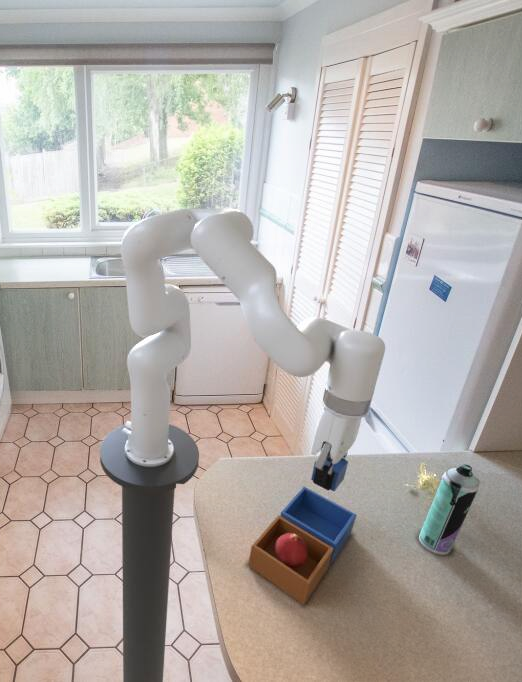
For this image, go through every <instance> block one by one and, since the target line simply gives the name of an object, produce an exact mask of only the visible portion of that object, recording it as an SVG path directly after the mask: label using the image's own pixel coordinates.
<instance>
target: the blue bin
mask: <svg viewBox="0 0 522 682" xmlns="http://www.w3.org/2000/svg"><path fill="white" fill-rule="evenodd" d="M279 516H281V517H282V518H284V519H286V520H287V521H289V522H291V523H292V524H294V525H296V526H297V527H299V528H301V529H302V530H304V531H306V532H307V533H309V534H311V535H312V536H314V537H316V538H317V539H319V540H321V541H322V542H324V543H326V544H327V545H329V546H330V547H332V548H334V549H333V553H332V556H331V560H330V563H329V566H331V565H332V563H333V562H334V560H335V559H336V557H337V556H338V555H339V552H340V551H341V550H342V549H343V547H344V545H345V544H346V542H347V541H348V539H349V538H350V536H351V535H352V531H353V528H354V524H355V521H356V518H357V514H356V513H354V512H353V511H351V510H349V509H347V508H346V507H343V506H341V505H340V504H337V503H335V502H334V501H332V500H330V499H328V498H326V497H324V496H322V495H321V494H319V493H317V492H316V491H313V490H311V488H310V489H309V488H308V487H306V486H303V487H302V488H301V489H300V490H298V492H297V493H296V494H295V495H294V497H293V498H291V500H290V501H289V502H288V504H286V506H285V507H284V508H283V509H282V510H281V511H280V515H279Z"/></svg>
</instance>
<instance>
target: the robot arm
mask: <svg viewBox="0 0 522 682" xmlns="http://www.w3.org/2000/svg"><path fill="white" fill-rule="evenodd" d="M253 237H254V226H253V223H252V220H251V219H250V218H249V216H248V215H247V214H245V213H244V212H243V211H240V210H238V209H234V208H187V207H186V208H180V209H179V208H178V209H174V210H170V211H168V212H167V211H166V212H163V213H158V214H155V215H152V216H148V217H146V218H143V219H141V220H139V221H137V222H136V223H133V225H131V226H130V227H128V229H127V230H126V232H125V233H124V235H123V237H122V239H121V244H120V256H121V260H122V266H123V270H124V276H125V286H126V287H125V288H126V296H127V297H126V299H127V300H126V301H127V308H128V309H127V310H128V318H129V324H130V327H131V329H132V331H133V332H134V334H136V335H137V336H139V337H143V338H144V339H142V341H139V342H138V343H137V344H136V345H134V346H133V347H132V349H130V351H129V353H128V354H127V359H126V367H127V372H128V376H129V382H130V383H129V384H130V421H129V420H127V421H126V422H125V424H124V425H125V427H126V428H127V429H129V430H131V431H129V430H127V429H126V428H124V429H123V430H122V433H124V434H126V435H128V441H127V442H126V444H125V453H126V456H127V457H128V459H129V460H131V461H132V462H133V463H135V464H138V465H141V466H146V467H155V466H160V465H163V464H165V463H167V462H168V461H169V460H170V459H171V458H172V456H173V453H174V447H173V444H172V442H171V441H170V440H169V439H168V435H169V424H170V415H171V412H170V411H171V388H170V385H169V384H168V380H167V377H168V374H170V373H171V372H172V371H173V370H174V369H176V367H178V366H179V365H181V364H182V363H184V362H185V361H186V360H187V359H188V357H189V355H190V353H191V348H192V335H191V333H192V332H191V311H190V305H189V304H190V303H189V300H188V297H187V296H186V294H185V292H184V291H183V290H182V289H181V288H180V287H178V286H176V285H174V284H171V283H167V284H166V275H165V271H164V268H163V266H162V264H161V262H160V261H159V260H161V259H164V258H167V257H170V256H172V255H175V254H179V253H181V252H184V251H186V250H191V249H193V251H194V253H195V254H196V255H197V256H198V257H199V259H201V260H202V262H203V263H204V264H205V265H206V266H207V267H208V268H209V269H210V271H212V272H213V274H214V275H215V276H216V277H217V278H218V279H219V280H220V281H221V282H222V283H223V285H224V286H225V287H226V288H227V289H228V290H229V291H230V292H231V294H232V295H233V296H234V297H235V298H236V299H237V300H238V303H239V305H240V310H241V313H242V316H243V319H244V320H245V323H246V326H247V328H248V330H249V334H251V336H252V338H253V340H254V341H255V342H256V344H257V345H258V347H259V348H260V349H261V350H262V351H263V352H264V353H265V354H266V355H267V357H268V358H269V359H270V360H271V361H272V362H273V363H274V364H275V365H276V366H277V367H278V368H280V370H282V371H283V372H285V373H287V374H288V375H291V376H293V377H297V378H305V377H310V376H312V375H314V374H316V373H318V371H319V370H320V369H321V368H322V367H323V366H324V364H325V363H328V364H329V369H328V373H327V377H326V378H327V379H326V382H325V387H324V391H323V396H322V401H321V403H322V406H323V410H322V412H321V414H320V417H319V419H318V422H317V426H316V428H315V432H314V435H313V439H312V443H311V447H310V454H311V455H313V456H316V455H318V454H319V455H318V457H317V459H316V460H317V462H316V464H315V463H314V464H315V468H316V470H315V474H314V479H313V480H312V482H313V484H314V485H316V486H319V487H320V488H322V489H324V490H327V491H331V490H330V489H331V485H332V481H333V477H334V473H333V470H334V467H335V464H336V463H338V462H339V461H340V460H341V459H344V460H346V461H347V459H346V458H347V456H348V453H349V451H350V449H351V448H352V447H353V446H354V444H355V442H356V440H357V437H358V434H359V431H360V427H361V423H362V418H365V417H366V416H368V414H369V411H370V407H371V404H372V401H373V397H374V394H375V389H376V386H377V382H378V379H379V378H378V377H379V375H380V371H381V367H382V363H383V359H384V356H385V352H386V343H385V342H384V340H383V339H382V338H381V337H380V336H378V335H377V334H375V333H372V332H368V331H366V330H365V331H364V330H357V329H351V328H348V327H345V326H343V325H341V324H338V323H336V322H333V321H331V320H329V319H326V318H322V317H308V318H306V319H304V320H302V321H301V322H300V323H299V324H298V325H295V323H294V322H293V321H292V320H291V319H290V317H288V315H287V314H286V312H285V311H284V309H283V307H282V305H281V303H280V301H279V296H278V293H277V281H278V280H277V279H278V278H277V277H278V276H277V270H276V267H275V266H274V265H273V264H272V263H271V262H270V261H269V260H268V259H267V258H266V257H265V256H264V255H263V254H262V252H260V251H259V249H258V248H257V247H256V245H254V244H253V243H252V240H253ZM319 452H320V453H319ZM329 455H330V456H329ZM326 461H329V462H331V464H330V467H329V466H328V465H326Z"/></svg>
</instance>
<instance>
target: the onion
mask: <svg viewBox="0 0 522 682" xmlns="http://www.w3.org/2000/svg"><path fill="white" fill-rule="evenodd" d="M275 553H276V556H277V558H278V560H279V561H280V562H282V563H283V564H285V565H286V566H288V567H291V568H296V567H299V566H301V565H303V564H304V563H305V562H306V560H307V555H308V551H307V546H306V544H305V542H304V541H303V539H302V538H301V537H299V536H298V535H297V534H294V533H286V534H284V535H282V536H280V537H279V538H278V539H277V541H276V545H275Z"/></svg>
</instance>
